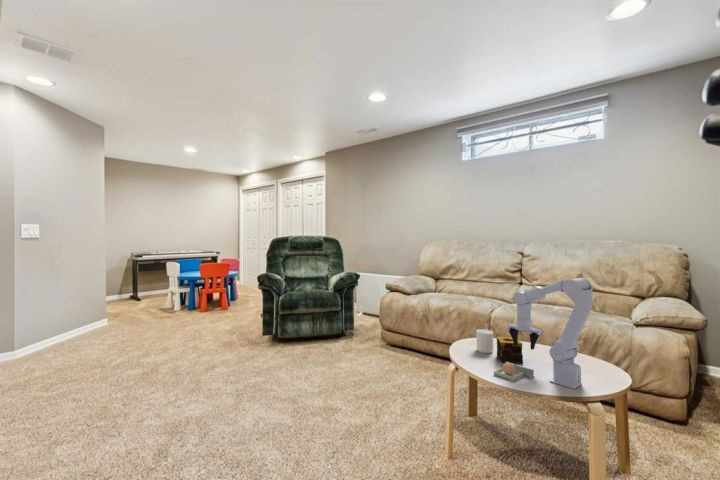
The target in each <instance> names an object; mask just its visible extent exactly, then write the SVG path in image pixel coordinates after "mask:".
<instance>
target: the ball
mask: <svg viewBox="0 0 720 480" xmlns="http://www.w3.org/2000/svg"><path fill="white" fill-rule="evenodd" d="M513 364H514V363H513ZM513 364H511V363H503V365H502V367H503V371H504V372H505V373H506V374H508V375H512V374H514V373H515V367H514V365H513Z"/></svg>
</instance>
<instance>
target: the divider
mask: <svg viewBox="0 0 720 480" xmlns="http://www.w3.org/2000/svg"><path fill="white" fill-rule="evenodd" d="M506 363H509V362H506ZM511 364H513V365H514V367H515V370H518V371H522V372H524V376H523V377H528V379H531V380H532V379H534V378H535V374H534V371H535V369H533V368H529V367H526V366H523V365H521V364H517V363H511Z"/></svg>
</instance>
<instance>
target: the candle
mask: <svg viewBox="0 0 720 480" xmlns="http://www.w3.org/2000/svg"><path fill="white" fill-rule="evenodd" d="M522 351H523V343H522V342H521V341H520V340H519V339H518V345H516V346H515V345H514V342H513V339H512V337H511V336H510V337H509V336H496V357H497V359H498V360H499V362H500V363H502V364H505V363H506V362H509V363H513V364H516V365H523V364H524V360H523V359H524V358H523V357H524V356H523V352H522Z"/></svg>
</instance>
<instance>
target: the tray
mask: <svg viewBox="0 0 720 480" xmlns="http://www.w3.org/2000/svg"><path fill="white" fill-rule="evenodd" d="M493 375H494V376H495V377H499V378H503V379H505V380H509V381H511V382H516V381H517V380H520V379H522V378H523V377H525V376H524V372H522V371H518V370H515V373H514V374H512V375H508V374H506V373H505V372H504V371H503V366H502V367H499V368H498V369H496V370H493Z"/></svg>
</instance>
